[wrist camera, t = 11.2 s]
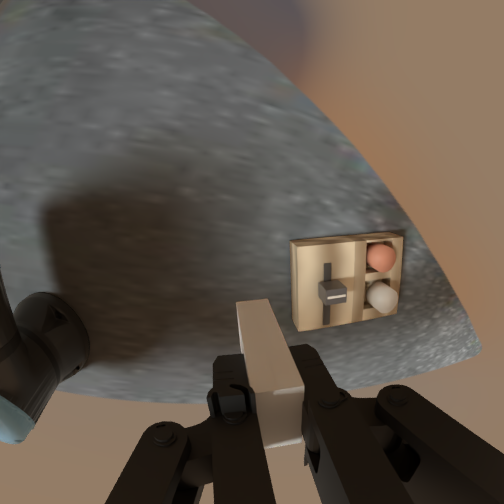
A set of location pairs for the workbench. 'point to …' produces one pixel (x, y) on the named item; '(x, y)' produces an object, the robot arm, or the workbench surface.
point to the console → (338, 278)
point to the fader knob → (332, 292)
